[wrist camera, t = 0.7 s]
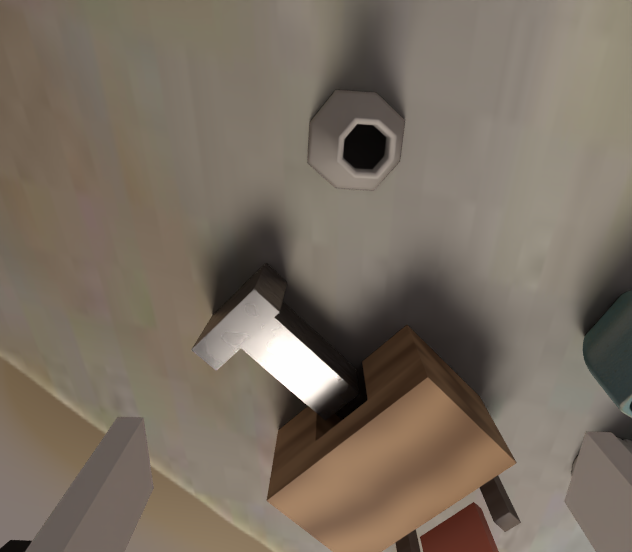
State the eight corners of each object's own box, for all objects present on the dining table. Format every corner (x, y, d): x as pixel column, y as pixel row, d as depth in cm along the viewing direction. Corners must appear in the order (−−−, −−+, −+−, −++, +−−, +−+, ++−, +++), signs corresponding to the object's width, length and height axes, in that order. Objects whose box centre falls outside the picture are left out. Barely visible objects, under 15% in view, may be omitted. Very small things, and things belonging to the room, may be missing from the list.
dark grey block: (212, 315, 36) (191, 349, 31) (266, 262, 35) (254, 289, 29) (314, 402, 39) (311, 449, 34) (368, 358, 37) (375, 399, 32)
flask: (378, 205, 33) (399, 237, 23) (292, 169, 32) (277, 187, 23) (421, 113, 31) (463, 107, 21) (328, 71, 30) (329, 46, 20)
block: (278, 430, 40) (264, 511, 32) (407, 324, 36) (431, 385, 28) (377, 512, 43) (389, 606, 35) (506, 423, 39) (555, 505, 31)
